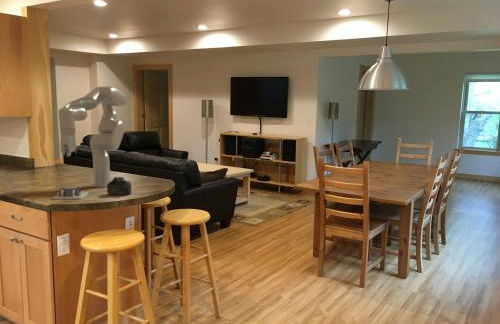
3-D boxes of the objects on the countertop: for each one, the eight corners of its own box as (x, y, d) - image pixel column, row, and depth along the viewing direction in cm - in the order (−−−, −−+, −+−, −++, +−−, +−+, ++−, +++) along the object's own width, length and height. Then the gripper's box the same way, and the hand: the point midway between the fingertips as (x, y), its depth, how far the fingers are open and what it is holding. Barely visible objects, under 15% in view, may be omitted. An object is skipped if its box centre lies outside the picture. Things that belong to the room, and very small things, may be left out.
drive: (63, 193, 230) (63, 186, 229) (80, 193, 231) (79, 186, 230) (60, 196, 225) (59, 188, 225) (77, 195, 226) (76, 188, 225)
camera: (133, 191, 241) (132, 174, 239) (130, 195, 231) (129, 178, 229) (109, 192, 239) (108, 175, 238) (105, 196, 229) (104, 178, 228)
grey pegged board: (61, 194, 234) (61, 186, 233) (88, 193, 235) (88, 186, 234) (52, 199, 222) (51, 191, 222) (80, 199, 223) (80, 190, 222)
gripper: (67, 129, 232) (69, 159, 235) (53, 133, 215) (56, 165, 218) (80, 129, 232) (83, 159, 235) (68, 133, 215) (71, 165, 218)
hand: (70, 162), depth 227 cm, fingers open, 9 cm apart
